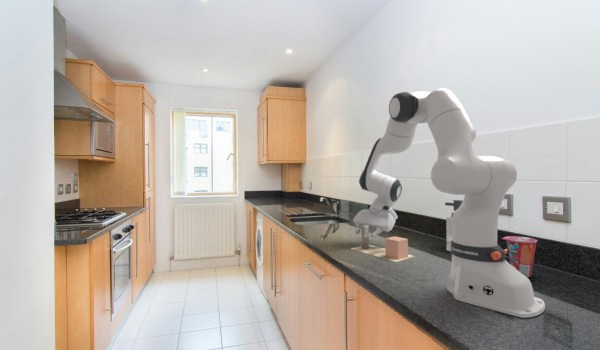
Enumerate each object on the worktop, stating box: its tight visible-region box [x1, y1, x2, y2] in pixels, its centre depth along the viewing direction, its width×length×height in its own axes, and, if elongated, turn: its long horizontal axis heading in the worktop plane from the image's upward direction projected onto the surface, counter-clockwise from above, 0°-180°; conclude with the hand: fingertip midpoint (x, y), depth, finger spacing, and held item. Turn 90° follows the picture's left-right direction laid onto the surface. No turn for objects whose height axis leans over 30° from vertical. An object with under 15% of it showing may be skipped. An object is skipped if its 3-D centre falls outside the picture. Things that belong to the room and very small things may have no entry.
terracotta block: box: [384, 236, 409, 260], centre depth 114 cm, size 6×6×7 cm
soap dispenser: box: [444, 199, 463, 252], centre depth 127 cm, size 6×9×22 cm
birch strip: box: [350, 225, 416, 263], centre depth 120 cm, size 24×12×11 cm, turn 34°
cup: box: [501, 235, 538, 278], centre depth 97 cm, size 9×8×12 cm
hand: (364, 234), depth 128 cm, fingers open, 8 cm apart
